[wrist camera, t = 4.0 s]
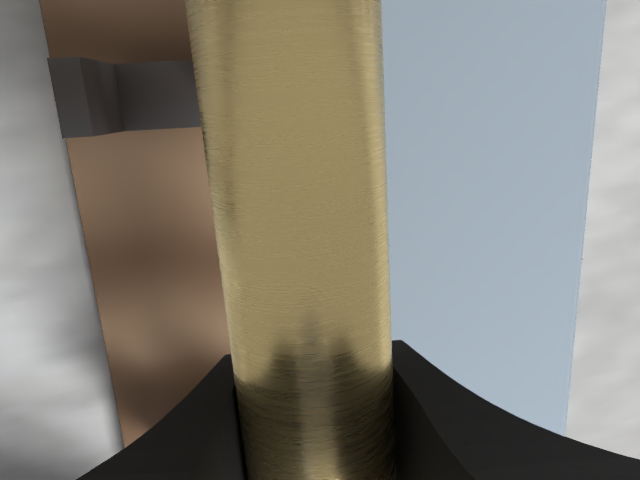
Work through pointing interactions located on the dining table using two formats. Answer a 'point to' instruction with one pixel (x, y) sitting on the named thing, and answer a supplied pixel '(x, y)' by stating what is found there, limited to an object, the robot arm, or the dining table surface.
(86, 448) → the dining table surface
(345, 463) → the brass rail
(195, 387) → the robot arm
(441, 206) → the slate mat
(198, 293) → the rail stand
